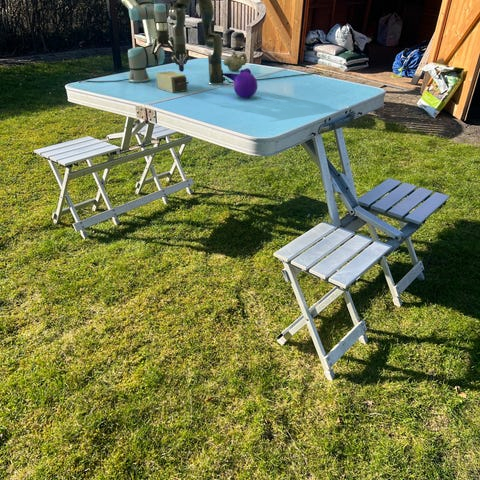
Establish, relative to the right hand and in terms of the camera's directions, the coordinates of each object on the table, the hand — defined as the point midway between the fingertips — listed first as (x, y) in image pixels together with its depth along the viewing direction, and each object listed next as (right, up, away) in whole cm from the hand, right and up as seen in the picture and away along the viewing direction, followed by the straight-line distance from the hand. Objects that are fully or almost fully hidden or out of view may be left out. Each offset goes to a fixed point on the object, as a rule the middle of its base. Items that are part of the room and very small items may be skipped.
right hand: (181, 71), depth 296 cm
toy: (+40, -18, -5) cm, 44 cm away
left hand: (-13, +11, +14) cm, 22 cm away
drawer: (-6, -7, +13) cm, 16 cm away
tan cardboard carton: (-9, -6, +17) cm, 20 cm away
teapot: (+35, +27, +72) cm, 84 cm away
